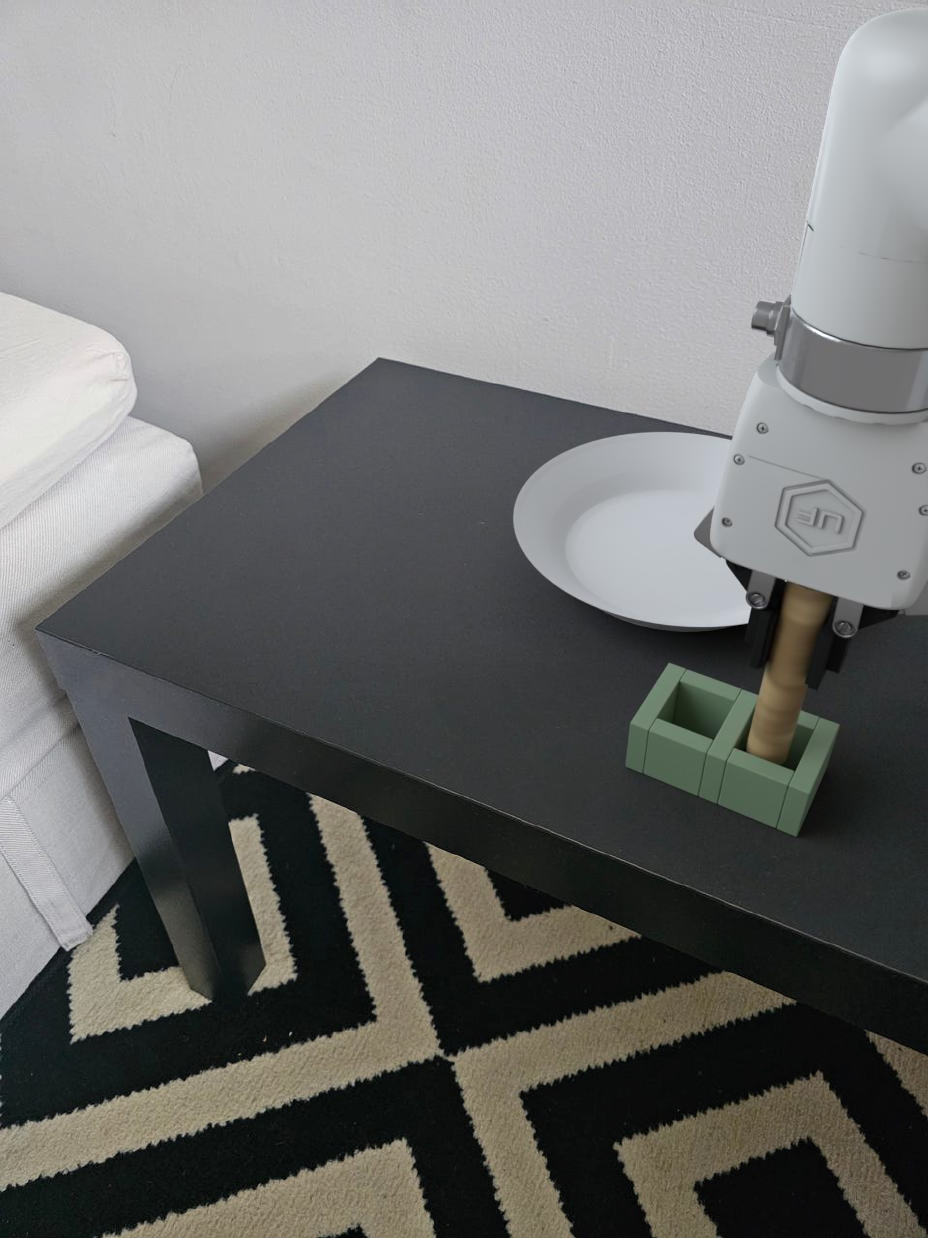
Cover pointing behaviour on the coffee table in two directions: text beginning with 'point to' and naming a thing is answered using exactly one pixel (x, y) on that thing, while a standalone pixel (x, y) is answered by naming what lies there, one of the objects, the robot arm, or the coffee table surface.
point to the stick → (787, 672)
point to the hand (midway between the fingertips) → (791, 661)
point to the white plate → (633, 529)
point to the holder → (726, 749)
